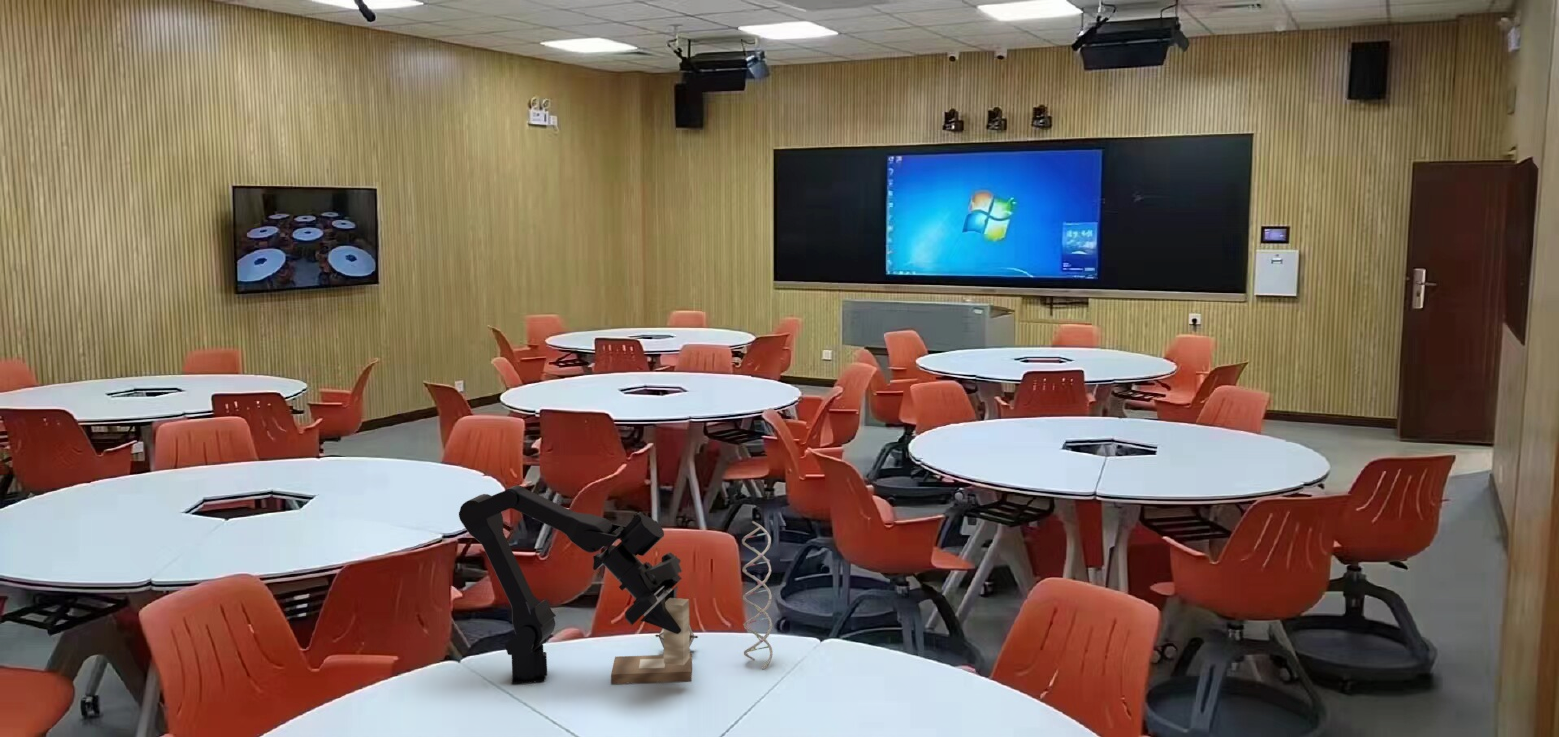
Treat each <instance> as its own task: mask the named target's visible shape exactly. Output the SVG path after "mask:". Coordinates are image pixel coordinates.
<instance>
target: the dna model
mask: <svg viewBox="0 0 1559 737" xmlns="http://www.w3.org/2000/svg"><path fill="white" fill-rule="evenodd" d="M751 523H752V524H753V525H755V526H756V527H757V528H755V529H754V530H753V531H751V532H750V533H748V534H746V535H745V536H743V538H742V539H741V544H742V545H743V546H745V547H746V548H748V549H749V550H751V551H752V552H754V553H755V554H757V556H756V557H755V558H753V559H751V560H750V561H749V562H748V563H746V564H744V566H742V571H741V572H743V573H744V574H745V575H746V576H748V577H750V578H751V579H753V580H754V581H755V582H756V583H757V585H756V586H755V587H754V588H752V589H750V590H749V591H747V592H746V593H743V596H742V600H743V601H744V602H746V603H747V604H749V605H750V606H752V607H754V608H755V609H756V610H757V611H758V613H757V614H756V615H755V616H753V617H751V618H750V619H748V620H746V621H745V622H744V623H743V624H742V625H743V628H744V629H745V630H746V631H748V632H750V633H751V634H753V635H755V637H756V638H757V639H758V641H757V642H756V643H754V644H753V645H752V646H750V647H748V648H747V649H745V650H744V651H743V655H744V656H745V657H746V658H749V659H750V660H752V661H755V658H754V657H752V656H751V655H749V653H750V652H753V651H758V650H762V649H769V657H768V659H767V660H766V662H765V664H764V665H763V666H762V667H761V670H765V669H766V668H767V667H768V666H769V664H770V662H771V660H772V659H773V655H774V654H773V647H772V645H771V644H770V642H769V641H768V640H767V638H769V636H770V634H771V630H772V628H773V622H772V618H771V617H770V616H769V613H768V612H766V611H767V610H768V609H769V607H770V606H771V603H772V600H773V599H772V597H773V596H772V592H771V589H770V588H769V587H768V586H767V585H766V583H767V581H768V579H769V578H770V575H771V574H772V566H771V563H770V562H771V559H768V558H767V557H766V556H764V555H765V554H766V553H767V551H769V549H770V547H771V542H772V537H771V536H770V533H769V532H768V531H767V530H766V529H765V528H764V527H763V526H762V525H760V524H759V523H757V522H755V521H754V520H752V521H751ZM759 530H761V531H763V533H758V534H756V533H757V532H758V531H759ZM754 534H756V537H760V536H765V535H766V537H767V541H768V542H767V546H766V547H765V549H763V551H762V552H760V551H759V550H757V549H756V548H755V547H754V546H753V547H752V546H750V545H749V544H747V542H745V541H746V540H747V539H749V538H754V537H755V535H754ZM761 558H762V559H763V561H760V562H758V563H757V562H756V561H758V560H759V559H761ZM755 562H756V564H755ZM760 564H766V565H767V566H768V573H767V574H766V576H765V578H764V580H760V579H759V578H758V577H756V576H755V575H752V574H751V573H750V572H748V570H747V569H746V568H748V567H752V566H756V565H760ZM760 587H763V588H764V589H763V590H759V591H758V592H757V591H756V590H758V589H759V588H760ZM754 591H756V592H754ZM763 592H767V594H768V601H767V603H766V606H765V607H763V608H761V607H760V606H759V605H757V604H756V603H754V602H752V601H750V600H749V599H747V597H748V596H750V595H754V594H757V593H758V594H759V593H763ZM761 615H764V616H765V617H763V618H759V619H758V622H759V621H763V620H768V622H769V626H768V630H767V632H766V633H765V634H764V636H763V635H760V634H759V633H758V632H756V631H755V630H753V629H751V628H749V627H748V626H747V625H748V624H752V623H755V622H757V618H758V617H760V616H761ZM762 643H765V644H766V646H762V647H758V646H759V645H760V644H762ZM756 647H758V648H756Z"/></svg>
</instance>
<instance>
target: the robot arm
mask: <svg viewBox="0 0 1559 737" xmlns="http://www.w3.org/2000/svg"><path fill="white" fill-rule="evenodd" d="M510 509H513V510H514V511H517V512H518V513H520V514H521V513H522V514H523V515H526V516H528V517H530V518H532V519H534V520H536V521H538V522H540V523H542V524H545V525H547V526H549V527H551V528H553V529H555V530H557V531H559V532H561V533H562V534H564V535H565V536H566V537H567V538H568V540H570V542H571V543H572V544H574V545H575V546H576V547H578V548H579V549H581V550H583V551H584V552H587V553H588V554H589V553H591V554H593V553H596V552H597V553H596V554H594V555H593V557H592V558H593V564H592V569H593V571H596V570H598V569H599V568H601V567H602V566H604V567H605V568H606V569H607V570H608V571H609V573H610V574H612V575H613V577H615V579H616V580H617V581H618V582H619V583H620V585H619V586H618V588H619V589H620V590H621V591H623V592H624V590H626V591H628V593H629V594H630V595H631V596H632V598H634V601H633V603H632V605H631V606H630V607H629V608H628V609H627V610H625V612H624V619H625V620H626V622H628V623H629V625H630V626H633V625H634V624H635V623H636V622H638V620H639V619H640V618H641V617H642V616H643V618H641V619H640V620H639V621H640V622H641V623H643V622H645V623H647V624H649V625H652V626H655V627H659V628H661V629H662V628H663V629H666V630H668V631H670V632H673V633H675V634H679V633H680V632H681V629H680V627H679V626H678V624H677V623H676V621H675V620H674V619H673V617H672V616H671V615H670V613H669V612H668V611H667V609H666V607H665V602H666V601H667V600H668V599H669V598H677V595H678V594H677V591H678V588H679V586H678V585H677V584H678V583H680V581H681V580H682V577H681V576H680V574H679V573H682V571H683V570H682V568H681V565H680V563H681V559H680V558H678V557H677V555H674V554H673V553H672V552H668V553H665V554H664V555H662V556H661V562H658V563H656V564H654V565H652V564H651V563H650V562H647V561H645V562H644V563H643V562H642V561H641V560H640V559H639V557H637V556H641V557H642V556H643V557H644V556H645V555H646V554H647V553H648V552H650V551H651V549H653V548H654V546H655V545H657V544H658V542H660V540H662V539H663V538H664V536H665V531H664V529H663V527H662V526H661V524H660V523H659V522H658V521H657V520H655V519H653V518H652V517H649V516H647V515H645V514H644V513H643V512H642V511H639V512H638V513H636V514H635V515H634V516H633V518H632V519H631V520H630V522H629V523H627V525H622V524H618V523H617V524H616V523H612V522H611V521H610V520H609V519H608V518H605V517H602V516H599V515H595V514H591V513H583V512H581V513H580V512H577V511H574V510H571V509H570V508H566V507H565V506H563V505H561V504H559V503H556V502H554V501H552V500H550V499H548V498H545V497H543V496H541V495H539V494H537V493H536V492H533V491H531V490H528V489H527V488H526V487H525V486H523V485H519V484H516V485H514V486H513V485H512V486H511V487H508V488H507V489H505V490H502V491H500V492H498V493H496V494H493V495H490V494H488V493H483V494H479V495H477V496H475V497H472V498H471V499H469V500H467V501H465V502H464V503H463V504H461V506H460V509H459V512H458V518H459V521H460V522H461V523H462V526H463V527H464V528H465V530H466V531H467V532H468V534H469V535H470V536H472V537H473V538H474V539H475V540H476V541H477V542H479V543H480V544H481V546H482V548H483V550H484V552H485V554H486V556H487V559H488V560H489V562H490V565H491V566H492V569H493V570H494V572H495V575H496V577H497V580H498V581H499V583H500V585H501V587H502V589H503V590H502V591H504V594H505V596H506V598H507V600H508V602H509V604H510V606H511V621H512V622H511V624H512V626H513V630H514V632H515V634H514V635H513V636H512V637H511V638H510V639H509V640H508V641H507V642H506V643H505V644H504V647H505V651H506V654H507V655H508V656H511V673H512V676H511V684H512V685H519V684H529V683H530V684H532V683H542V682H545V678H546V676H547V675H548V661H547V660H548V656H547V652H546V651H544V644H546V643H547V640H548V638H549V637H550V635H552V634H553V632H554V630H555V627H556V620H555V617H556V614H555V613H554V612H553V610H552V609H551V608H552V607H551V605H550V602H549V600H548V599H547V598H545V599H544V600H542V601H541V600H540V599H538V598H537V597H535V595H534V594H533V591H532V589H531V587H530V585H529V583H528V582H527V579H526V577H525V575H524V573H523V571H522V569H521V566H520V564H519V562H518V561H517V558H516V556H515V555H514V552H513V549H512V547H511V546H510V544H509V542H508V540H507V537H506V535H505V532H504V516H503V513H502V512H505V511H508V510H510ZM618 540H620V542H618V544H617V545H614V543H616V542H617V541H618ZM604 547H606V548H605V550H604V551H603V552H601V553H598V551H600V550H601V549H602V548H604Z"/></svg>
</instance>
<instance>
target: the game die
mask: <svg viewBox="0 0 1559 737" xmlns="http://www.w3.org/2000/svg"><path fill="white" fill-rule="evenodd" d="M690 618H691V616H690V615H689V620H690ZM654 636H655V637H656V638H658V639H659V641H660V643H661V646H662V648H663V649H664V631H663V628H661V630H660V632H659V634H655V635H654ZM698 638H699V636H698V635H695V634H694V631H693V630H692V627H691V624H690V623H689V642H690V646H691V645H692V644H693V642H694V640H695V639H698Z"/></svg>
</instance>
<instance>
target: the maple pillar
mask: <svg viewBox="0 0 1559 737" xmlns="http://www.w3.org/2000/svg"><path fill="white" fill-rule="evenodd" d="M665 607H666V609H667V611H668V612H669V613H670V615H671V616H672V617H673V619H674V620H675V621H676V623H677V624H678V626H679V627H680V629H681V632H680V633H679V634H675V633H673V632H670V631H668V630H666V629H663V631H664V648H663V655H664V664H675V665H684V664H685V663H686V662H687V661H688V659H689V658H690V654H691V653H690V652H691V651H690V647H691V645H690V642H689V624H690V619H689V616H690V599H689V598H677V597H676V598H669V599H668V600H667V601H666V602H665Z"/></svg>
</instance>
